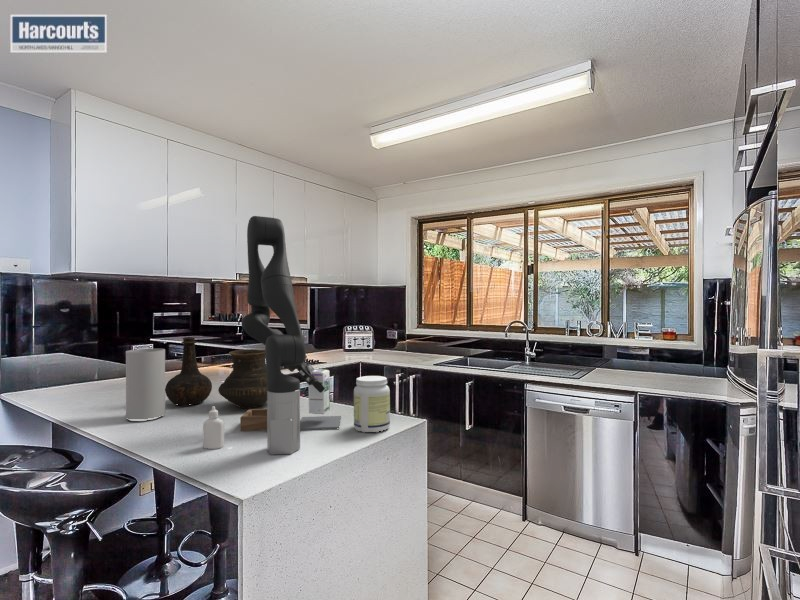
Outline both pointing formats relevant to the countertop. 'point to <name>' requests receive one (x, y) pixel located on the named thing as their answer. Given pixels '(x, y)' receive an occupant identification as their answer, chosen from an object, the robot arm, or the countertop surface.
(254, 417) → the walnut collar
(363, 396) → the supplement tub
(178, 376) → the brown bulbous vase
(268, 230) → the robot arm
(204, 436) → the eye dropper bottle
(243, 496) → the countertop surface
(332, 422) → the grey flat block
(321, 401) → the syrup box
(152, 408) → the cylinder vase
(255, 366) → the ceramic pot
